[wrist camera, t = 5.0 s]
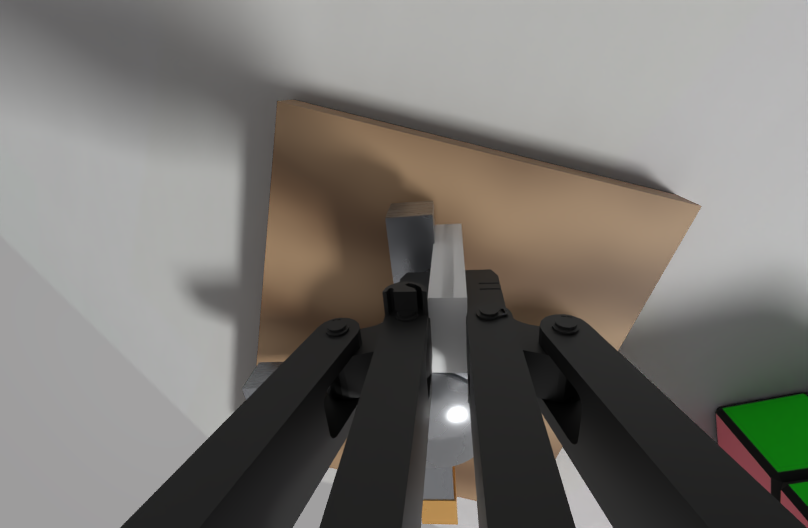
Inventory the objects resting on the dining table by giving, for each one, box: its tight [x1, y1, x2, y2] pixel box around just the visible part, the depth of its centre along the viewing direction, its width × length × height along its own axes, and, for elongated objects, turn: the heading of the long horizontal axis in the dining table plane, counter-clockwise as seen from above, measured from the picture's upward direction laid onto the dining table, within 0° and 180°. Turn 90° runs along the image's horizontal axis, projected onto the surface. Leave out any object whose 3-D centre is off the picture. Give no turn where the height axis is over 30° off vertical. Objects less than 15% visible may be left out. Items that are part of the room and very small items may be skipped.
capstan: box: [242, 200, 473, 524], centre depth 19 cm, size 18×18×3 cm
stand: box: [256, 100, 701, 501], centre depth 22 cm, size 22×19×3 cm
